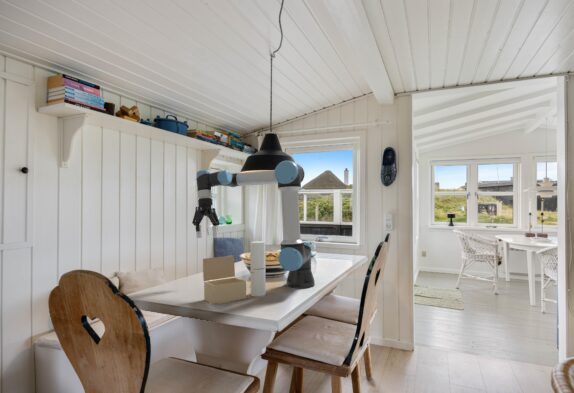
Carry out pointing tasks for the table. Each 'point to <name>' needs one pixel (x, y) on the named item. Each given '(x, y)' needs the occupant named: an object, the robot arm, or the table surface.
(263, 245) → the cylindrical container
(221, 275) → the lid
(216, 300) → the box
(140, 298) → the table surface
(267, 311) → the table surface
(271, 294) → the table surface
